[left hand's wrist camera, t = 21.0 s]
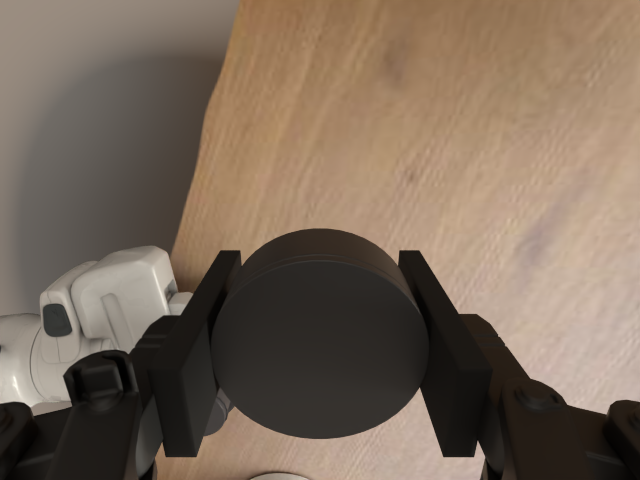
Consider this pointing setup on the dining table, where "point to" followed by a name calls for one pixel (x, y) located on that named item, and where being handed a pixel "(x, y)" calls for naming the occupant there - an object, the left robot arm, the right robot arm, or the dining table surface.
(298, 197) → the dining table surface
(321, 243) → the lid
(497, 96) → the dining table surface
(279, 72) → the dining table surface
